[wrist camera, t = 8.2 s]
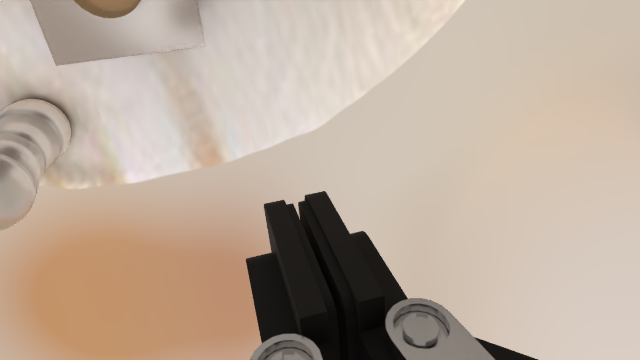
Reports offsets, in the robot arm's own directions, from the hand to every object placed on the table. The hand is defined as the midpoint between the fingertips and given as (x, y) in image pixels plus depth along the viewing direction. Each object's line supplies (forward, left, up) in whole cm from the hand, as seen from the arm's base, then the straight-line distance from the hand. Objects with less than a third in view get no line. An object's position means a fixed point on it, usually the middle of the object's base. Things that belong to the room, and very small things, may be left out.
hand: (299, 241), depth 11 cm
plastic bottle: (+20, +8, -39) cm, 45 cm away
